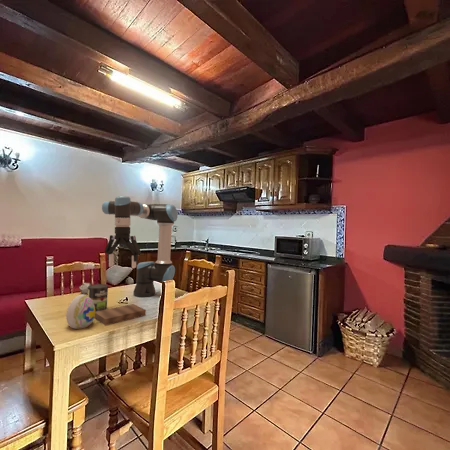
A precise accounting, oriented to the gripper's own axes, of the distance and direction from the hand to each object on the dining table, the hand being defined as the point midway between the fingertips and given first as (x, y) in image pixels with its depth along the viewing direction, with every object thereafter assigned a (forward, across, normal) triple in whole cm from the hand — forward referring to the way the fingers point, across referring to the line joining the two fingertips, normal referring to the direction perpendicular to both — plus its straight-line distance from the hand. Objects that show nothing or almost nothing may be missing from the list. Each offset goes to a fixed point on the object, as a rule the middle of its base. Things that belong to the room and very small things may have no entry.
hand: (122, 267), depth 134 cm
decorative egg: (+27, -13, -14) cm, 33 cm away
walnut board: (+28, -4, +4) cm, 28 cm away
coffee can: (+27, -21, +6) cm, 35 cm away
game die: (+28, -53, +32) cm, 68 cm away
